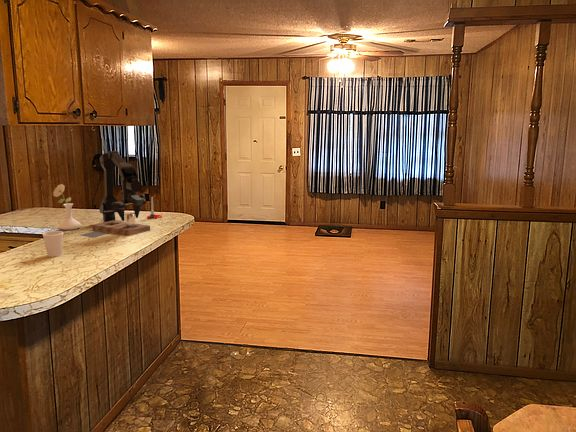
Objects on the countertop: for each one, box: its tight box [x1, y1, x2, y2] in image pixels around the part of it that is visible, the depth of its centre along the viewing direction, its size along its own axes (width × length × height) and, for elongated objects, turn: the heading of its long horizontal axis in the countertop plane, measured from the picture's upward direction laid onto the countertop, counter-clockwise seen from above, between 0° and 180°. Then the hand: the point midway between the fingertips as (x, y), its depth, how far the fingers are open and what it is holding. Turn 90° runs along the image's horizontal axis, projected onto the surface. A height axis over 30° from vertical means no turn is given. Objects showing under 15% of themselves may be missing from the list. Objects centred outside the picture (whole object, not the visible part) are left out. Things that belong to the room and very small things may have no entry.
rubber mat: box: [79, 230, 111, 239], centre depth 249 cm, size 11×11×1 cm
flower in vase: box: [52, 183, 82, 231], centre depth 259 cm, size 13×11×25 cm
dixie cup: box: [41, 230, 64, 258], centre depth 211 cm, size 8×8×10 cm
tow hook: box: [146, 196, 163, 219], centre depth 294 cm, size 8×13×9 cm
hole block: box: [92, 219, 151, 237], centre depth 259 cm, size 28×14×3 cm, turn 61°
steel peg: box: [124, 212, 136, 228], centre depth 255 cm, size 5×5×10 cm
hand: (130, 219), depth 254 cm, fingers open, 9 cm apart
